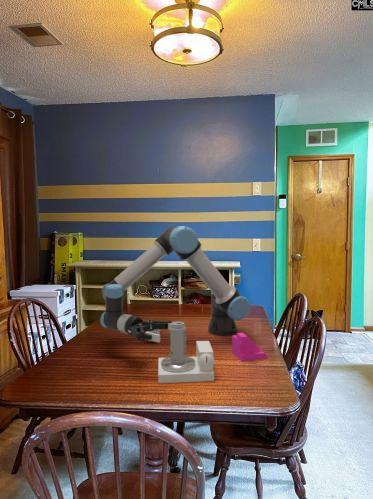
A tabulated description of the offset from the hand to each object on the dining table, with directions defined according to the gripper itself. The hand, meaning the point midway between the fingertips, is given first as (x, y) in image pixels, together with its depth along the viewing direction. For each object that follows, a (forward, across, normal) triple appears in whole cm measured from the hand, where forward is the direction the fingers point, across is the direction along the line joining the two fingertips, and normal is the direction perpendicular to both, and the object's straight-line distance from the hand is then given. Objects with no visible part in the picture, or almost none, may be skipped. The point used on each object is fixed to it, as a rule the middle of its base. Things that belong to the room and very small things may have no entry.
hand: (171, 333), depth 134 cm
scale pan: (+3, 0, -12) cm, 12 cm away
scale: (+5, -2, -15) cm, 16 cm away
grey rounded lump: (-28, -21, -15) cm, 38 cm away
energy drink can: (+3, 0, -11) cm, 11 cm away
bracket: (+18, -32, -15) cm, 39 cm away
